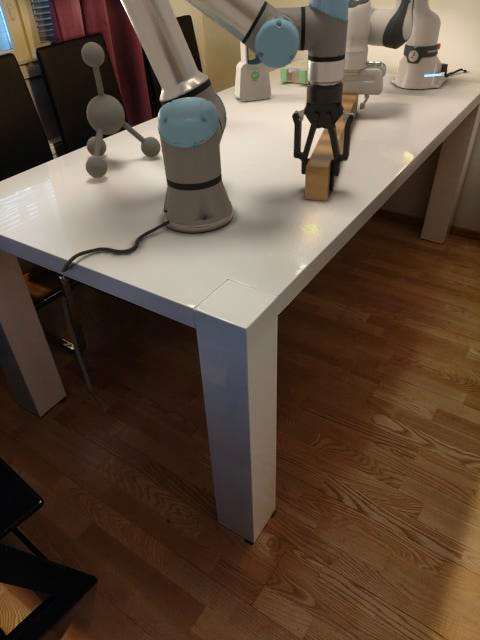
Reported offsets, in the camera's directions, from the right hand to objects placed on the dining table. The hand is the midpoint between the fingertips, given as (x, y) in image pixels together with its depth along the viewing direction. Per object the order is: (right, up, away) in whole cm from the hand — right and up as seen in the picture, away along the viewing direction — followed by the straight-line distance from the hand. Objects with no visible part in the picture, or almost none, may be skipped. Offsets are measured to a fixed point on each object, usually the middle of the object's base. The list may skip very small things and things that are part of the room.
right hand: (348, 108), depth 158 cm
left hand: (-16, -37, -43) cm, 59 cm away
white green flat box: (-6, +34, +49) cm, 60 cm away
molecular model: (-68, -25, -21) cm, 75 cm away
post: (-8, -20, -20) cm, 30 cm away
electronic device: (-30, +16, +28) cm, 44 cm away
